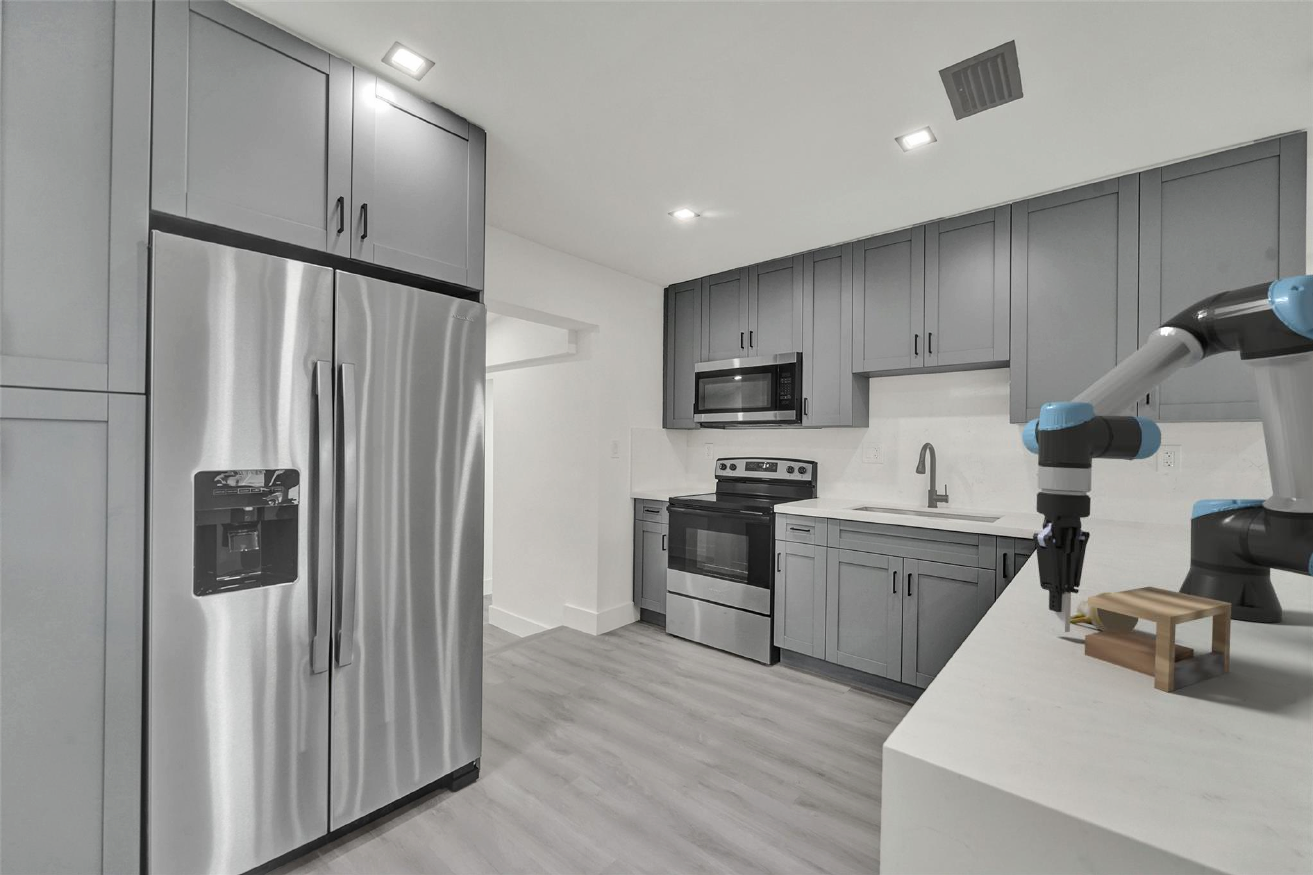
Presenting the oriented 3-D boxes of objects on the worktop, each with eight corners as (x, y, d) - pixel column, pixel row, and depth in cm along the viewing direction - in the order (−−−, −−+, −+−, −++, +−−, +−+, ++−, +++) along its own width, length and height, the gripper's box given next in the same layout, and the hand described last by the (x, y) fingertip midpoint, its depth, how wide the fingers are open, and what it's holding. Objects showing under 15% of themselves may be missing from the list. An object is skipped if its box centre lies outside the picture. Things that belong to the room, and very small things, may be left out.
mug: (1098, 619, 110) (1128, 581, 105) (1120, 658, 102) (1153, 619, 97) (1057, 607, 111) (1085, 569, 106) (1075, 644, 103) (1106, 605, 98)
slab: (1115, 649, 94) (1116, 628, 94) (1193, 672, 86) (1193, 649, 86) (1084, 657, 91) (1085, 635, 91) (1162, 682, 82) (1163, 657, 82)
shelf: (1147, 648, 94) (1149, 586, 94) (1229, 671, 85) (1231, 603, 85) (1085, 664, 86) (1087, 597, 86) (1167, 692, 77) (1170, 617, 77)
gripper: (1061, 489, 104) (1057, 618, 104) (1018, 490, 98) (1013, 627, 99) (1108, 493, 98) (1104, 631, 98) (1065, 495, 92) (1060, 642, 92)
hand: (1058, 629), depth 98 cm, fingers closed
